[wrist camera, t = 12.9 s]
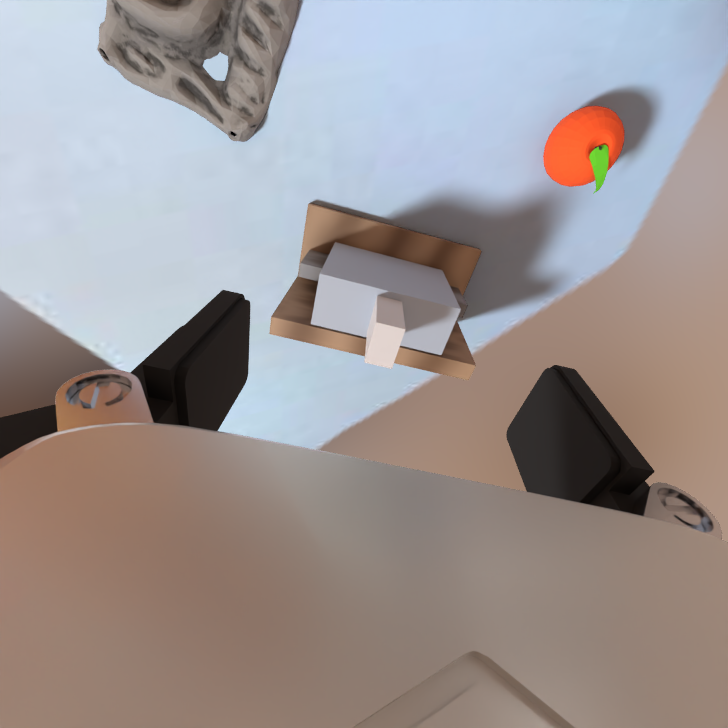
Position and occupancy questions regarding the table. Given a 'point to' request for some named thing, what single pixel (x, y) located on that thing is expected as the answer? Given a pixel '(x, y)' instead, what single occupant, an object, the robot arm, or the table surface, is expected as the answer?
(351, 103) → the table surface
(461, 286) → the wooden stand
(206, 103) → the wall plaque
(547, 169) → the clementine
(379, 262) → the white box with handle
